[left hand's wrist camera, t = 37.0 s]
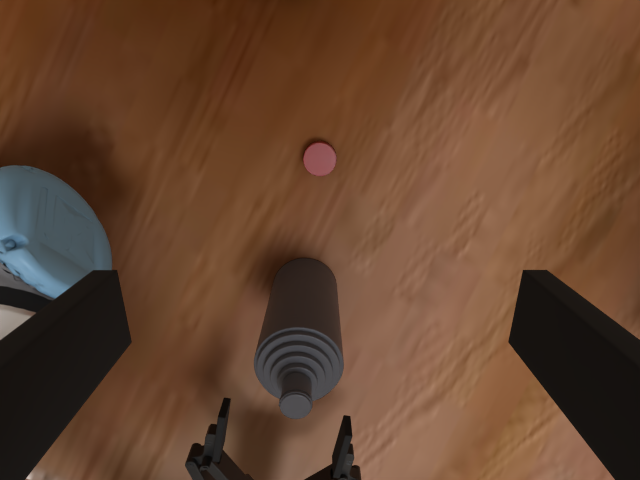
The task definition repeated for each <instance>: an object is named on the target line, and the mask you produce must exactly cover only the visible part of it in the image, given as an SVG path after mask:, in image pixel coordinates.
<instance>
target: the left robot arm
mask: <svg viewBox="0 0 640 480" xmlns="http://www.w3.org/2000/svg"><path fill="white" fill-rule="evenodd" d="M130 344H131V337H130V332H129V327H128V322H127V317H126V312H125V307H124V302H123V297H122V292H121V288H120V283H119V278H118V273H117V270H93V271H91V272H90V273H89V274H87V275H86V276H85V277H83V278H82V279H81V280H79V281H78V282H77V283H75V284H74V285H73V286H71V287H70V288H69V289H67V290H66V291H65V292H63V293H62V294H61V295H59V296H58V297H57V298H55V299H54V300H53V301H51V302H50V303H49V304H47V305H46V306H45V307H43V308H42V309H41V310H40V311H38V312H37V313H36V314H34V315H33V316H32V317H30V318H29V319H28V320H26V321H25V322H24V323H22V324H21V325H20V326H18V327H17V328H16V329H14V330H13V331H12V332H10V333H9V334H8V335H6V336H5V337H4V338H2V339H1V340H0V480H25V479H26V478H27V476H28V475H29V474H30V472H31V471H32V470H33V469H34V467H35V466H36V465H37V463H38V462H39V461H40V460H41V458H42V457H43V456H44V454H45V453H46V452H47V451H48V449H49V448H50V447H51V445H52V444H53V443H54V441H55V440H56V439H57V438H58V436H59V435H60V434H61V432H62V431H63V430H64V429H65V427H66V426H67V425H68V423H69V422H70V421H71V420H72V418H73V417H74V416H75V414H76V413H77V412H78V411H79V409H80V408H81V407H82V405H83V404H84V403H85V402H86V400H87V399H88V398H89V396H90V395H91V394H92V393H93V391H94V390H95V389H96V387H97V386H98V385H99V383H100V382H101V381H102V380H103V378H104V377H105V376H106V374H107V373H108V372H109V371H110V369H111V368H112V367H113V365H114V364H115V363H116V362H117V360H118V359H119V358H120V356H121V355H122V354H123V353H124V351H125V350H126V349H127V347H128V346H129V345H130ZM509 344H510V345H511V346H512V347H513V349H514V350H515V351H516V353H517V354H518V355H519V356H520V358H521V359H522V360H523V362H524V363H525V364H526V365H527V367H528V368H529V369H530V371H531V372H532V373H533V374H534V376H535V377H536V378H537V380H538V381H539V382H540V383H541V385H542V386H543V387H544V389H545V390H546V391H547V393H548V394H549V395H550V396H551V398H552V399H553V400H554V402H555V403H556V404H557V405H558V407H559V408H560V409H561V411H562V412H563V413H564V414H565V416H566V417H567V418H568V420H569V421H570V422H571V423H572V425H573V426H574V427H575V429H576V430H577V431H578V432H579V434H580V435H581V436H582V438H583V439H584V440H585V441H586V443H587V444H588V445H589V447H590V448H591V449H592V451H593V452H594V453H595V454H596V456H597V457H598V458H599V460H600V461H601V462H602V463H603V465H604V466H605V467H606V469H607V470H608V471H609V472H610V474H611V475H612V476H613V478H614V479H615V480H640V340H639V339H638V338H636V337H635V336H634V335H632V334H631V333H630V332H628V331H627V330H626V329H624V328H623V327H622V326H620V325H619V324H618V323H616V322H615V321H614V320H612V319H611V318H610V317H608V316H607V315H606V314H604V313H603V312H602V311H600V310H599V309H598V308H597V307H595V306H594V305H593V304H591V303H590V302H589V301H587V300H586V299H585V298H583V297H582V296H581V295H579V294H578V293H577V292H575V291H574V290H573V289H571V288H570V287H569V286H567V285H566V284H565V283H563V282H562V281H561V280H559V279H558V278H557V277H555V276H554V275H553V274H551V273H550V272H549V271H547V270H523V273H522V278H521V283H520V288H519V292H518V297H517V302H516V307H515V312H514V317H513V322H512V327H511V332H510V337H509Z"/></svg>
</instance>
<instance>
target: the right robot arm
mask: <svg viewBox="0 0 640 480" xmlns="http://www.w3.org/2000/svg"><path fill="white" fill-rule="evenodd" d="M93 270H112V253H111V248H110V244H109V241H108V238H107V235H106V232H105V230H104V228H103V226H102V224H101V223H100V221H99V220H98V218H97V216H96V214H95V213H94V211H93V210H92V208H91V207H90V206H89V205H88V203H87V202H86V201H85V200H84V199H83V198H82V197H81V196H80V195H79V194H78V193H77V192H76V191H75V190H74V189H73V188H72V187H70V186H69V185H68V184H67V183H65V182H64V181H62V180H61V179H59V178H58V177H56V176H54V175H52V174H50V173H48V172H46V171H43V170H41V169H38V168H35V167H30V166H18V165H10V166H4V167H1V168H0V340H1V339H2V338H4V337H5V336H6V335H8V334H9V333H10V332H12V331H13V330H14V329H16V328H17V327H18V326H20V325H21V324H22V323H24V322H25V321H26V320H28V319H29V318H30V317H32V316H33V315H34V314H36V313H37V312H38V311H40V310H41V309H42V308H43V307H45V306H46V305H47V304H49V303H50V302H51V301H53V300H54V299H55V298H57V297H58V296H59V295H61V294H62V293H63V292H65V291H66V290H67V289H69V288H70V287H71V286H73V285H74V284H75V283H77V282H78V281H79V280H81V279H82V278H83V277H85V276H86V275H87V274H89V273H90V272H91V271H93ZM230 400H231V399H229V398H224V399H223V402H222V406H221V409H220V412H219V415H218V421H217V425H216V424H211V425H210V426H209V428H208V431H207V434H206V437H205V445H204V446H201V444H199V443H194V444H193V445H192V447H191V449H190V452H189V455H188V458H187V461H186V463H185V467H186V468H187V470H188V472H189V474H190V476H191V477H192V479H193V480H253V479H252V477H251V476H250V475H249V474H246V475H245V474H244V473H243V472H242V471H241V470H240V469H239V467H238V466H237V465H236V464H235V463H234V462H233V461H232V460H231V458H230V457H229V456H228V455H227V454H226V453H225V452H224V451H223V446H224V442H225V435H226V428H227V421H228V414H229V407H230ZM351 439H352V429H351V419H350V416H345V415H344V416H343V420H342V423H341V427H340V430H339V434H338V437H337V441H336V444H335V448H334V451H333V455H332V464H331V465H329V466H327V467H326V468H324V469H322V470H320V471H319V472H317V473H315V474H313V475H312V476H310V477H308V478H306V479H305V480H361V473H360V467H359V466H357V465H353V466H352V463H353V460H354V452H353V445H352V444H350V442H351Z"/></svg>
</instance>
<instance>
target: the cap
mask: <svg viewBox="0 0 640 480" xmlns="http://www.w3.org/2000/svg"><path fill="white" fill-rule="evenodd" d="M336 157H337V156H336V152H335V151H334V148H332V146H331V145H329V143H326V142H323V141H317V142H314V143H312V144H310V145H309V146H308V147H307V149H305V152H304V156H303V162H304V165H305V168H306V169H307V170H308V172H310V173H311V174H313V175H315V176H324V175H327V174H329V173H330V172H331V171H332V170H333V169H334V167H335V165H336V161H337V160H336Z"/></svg>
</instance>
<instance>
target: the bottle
mask: <svg viewBox="0 0 640 480" xmlns="http://www.w3.org/2000/svg"><path fill="white" fill-rule="evenodd" d="M343 366H344V363H343V351H342V340H341V328H340V317H339V306H338V295H337V284H336V279H335V277H334V275H333V273H332V271H331V270H330V269H329V268H328V267H327V266H326V265H325V264H323V263H321V262H319V261H317V260H314V259H309V258H300V259H295V260H292V261H290V262H288V263H286V264H285V265H284V266H282V267H281V268H280V269H279V271H278V272H277V274H276V276H275V279H274V282H273V286H272V290H271V294H270V298H269V302H268V306H267V310H266V314H265V318H264V322H263V326H262V330H261V334H260V338H259V341H258V345H257V349H256V353H255V358H254V368H255V372H256V375H257V377H258V379H259V381H260V382H261V384H262V385H263V387H264V388H265V389H266V390H267V391H268V392H269V393H270V394H272V395H273V396H275V397H277V398H279V399H280V401H279V406H280V409H281V412H282V413H283V414H284V415H285V416H287V417H289V418H292V419H300V418H303V417H305V416H306V415H308V414H309V412H310V410H311V408H312V401H314V400H317V399H319V398H321V397H323V396H325V395H326V394H328V393H329V392H330V391H331V390H332V389H333V388H334V387H335V386H336V384H337V383H338V381H339V380H340V378H341V376H342V372H343Z"/></svg>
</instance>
